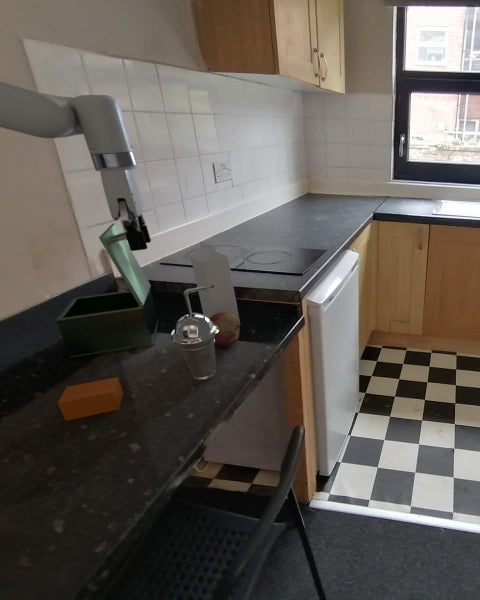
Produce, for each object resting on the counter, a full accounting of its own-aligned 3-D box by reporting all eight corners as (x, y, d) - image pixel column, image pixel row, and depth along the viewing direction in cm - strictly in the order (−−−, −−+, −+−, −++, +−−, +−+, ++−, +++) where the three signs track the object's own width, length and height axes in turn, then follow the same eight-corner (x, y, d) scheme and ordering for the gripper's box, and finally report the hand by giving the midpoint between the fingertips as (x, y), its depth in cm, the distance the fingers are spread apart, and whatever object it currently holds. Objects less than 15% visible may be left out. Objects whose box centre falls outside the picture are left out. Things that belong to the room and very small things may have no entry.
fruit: (226, 356, 90) (219, 325, 86) (200, 350, 92) (192, 319, 89) (250, 340, 96) (245, 310, 93) (225, 334, 99) (219, 305, 96)
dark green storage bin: (71, 360, 88) (55, 320, 84) (86, 334, 99) (73, 297, 95) (153, 346, 94) (142, 307, 90) (159, 323, 105) (149, 287, 101)
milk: (227, 319, 107) (211, 238, 98) (240, 325, 104) (226, 242, 95) (205, 328, 102) (187, 243, 93) (219, 334, 99) (201, 248, 90)
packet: (65, 421, 70) (57, 402, 69) (73, 404, 75) (66, 386, 73) (118, 409, 73) (112, 391, 72) (123, 394, 77) (117, 376, 76)
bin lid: (98, 237, 82) (124, 230, 83) (111, 223, 92) (135, 217, 94) (139, 306, 90) (163, 298, 91) (147, 286, 100) (168, 280, 102)
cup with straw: (205, 360, 88) (185, 275, 80) (237, 368, 85) (221, 281, 77) (172, 381, 81) (147, 290, 73) (207, 391, 78) (184, 297, 70)
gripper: (103, 159, 89) (129, 239, 97) (82, 167, 75) (114, 259, 82) (141, 157, 92) (164, 235, 99) (128, 164, 77) (155, 254, 85)
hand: (141, 245), depth 91 cm, fingers closed on bin lid, 5 cm apart
